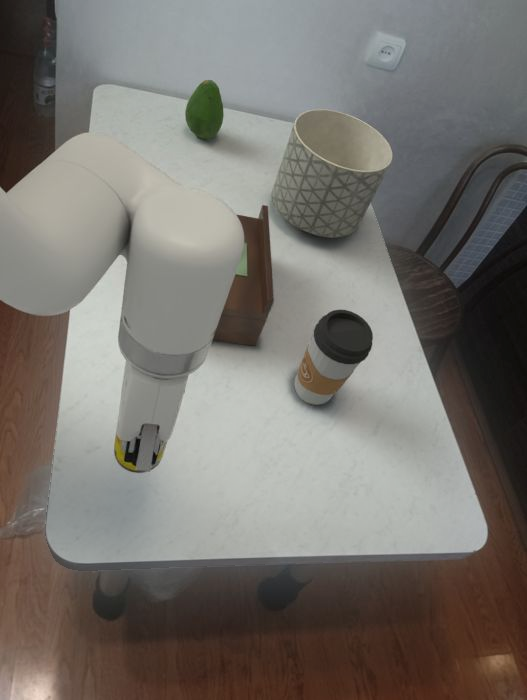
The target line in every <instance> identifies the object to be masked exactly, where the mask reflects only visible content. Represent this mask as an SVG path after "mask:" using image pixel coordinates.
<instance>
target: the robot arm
mask: <svg viewBox="0 0 527 700" xmlns="http://www.w3.org/2000/svg"><path fill="white" fill-rule="evenodd" d="M237 215H238V214H237ZM237 215H236V212H235V211H234V210H233V208H232V207H231V206H229V205H228V204H227V203H226V202H224V201H223V200H222V199H220V198H219V197H217V196H215V195H213V194H212V193H209V192H207V191H204V190H201V189H199V188H198V189H197V188H192V187H187V186H184V185H183V184H182V183H180V182H178V180H176V179H174V178H173V177H171V176H170V175H168V174H167V173H165V172H164V171H162V170H161V169H160V168H159V167H157V166H156V165H155V164H153V163H152V162H150V161H149V160H148V159H147V158H146V157H144V156H143V155H141V154H140V153H139V152H137V151H136V150H134V149H133V148H132V147H130V146H129V145H127V144H125V143H124V142H123V141H120V140H119V139H117V138H115V137H112V136H111V135H108V134H105V133H100V132H95V131H91V132H82V133H80V134H77V135H75V136H72V137H71V138H70V139H67V141H65V142H64V143H63V144H61V145H60V146H59V147H58V148H56V150H55V151H53V152H52V153H51V154H50V155H48V157H46V158H45V159H44V160H43V161H42V162H41V163H39V164H38V165H37V166H36V167H35V168H33V169H32V170H31V171H30V172H29V173H27V174H26V175H25V176H24V177H23V178H22V179H20V180H19V181H18V182H17V183H16V184H15V185H13V187H11V189H9V190H8V191H7V192H6V191H5V190H4V189H3V188H2V187H1V186H0V301H1V302H3V303H5V304H6V305H8V306H10V307H12V308H14V309H16V310H18V311H20V312H23V313H26V314H28V315H29V314H30V315H33V316H39V317H40V316H41V317H53V316H58V315H61V314H64V313H67V312H68V311H70V310H72V309H74V308H76V307H77V306H78V305H79V304H80V303H82V302H83V301H84V299H85V298H86V297H88V295H89V294H90V293H91V292H92V290H93V289H94V288H95V287H96V285H98V283H99V282H100V281H101V279H102V278H104V276H105V274H106V273H107V271H108V270H110V267H112V265H113V264H114V262H115V261H116V260H117V258H119V256H122V257H124V259H125V261H126V269H125V277H124V279H125V280H124V286H123V294H122V303H121V313H120V320H119V328H118V334H117V343H118V348H119V351H120V354H121V356H123V358H124V360H125V365H124V370H123V371H124V372H123V378H122V386H121V394H120V401H119V407H118V415H117V423H116V424H117V425H116V430H117V436H118V438H119V439H120V440H124V441H127V445H126V450H125V456H124V461H125V462H129V463H132V465H134V466H136V471H146V472H145V473H150V472H151V471H150V469H151V465H153V464H155V463H156V460H157V456H158V453H159V450H160V441H161V442H162V444H164V443H165V442H167V443H168V441H169V440H170V439H171V437H172V434H173V432H174V428H175V426H176V423H177V419H178V416H179V413H180V409H181V405H182V401H183V398H184V395H185V393H186V387H187V384H188V380H189V376H190V375H191V374H193V373H195V372H196V371H197V370H199V368H201V366H203V364H204V363H205V361H206V360H207V357H208V354H209V351H210V349H211V346H212V343H213V337H214V334H215V331H216V328H217V325H218V322H219V319H220V316H221V314H222V311H223V308H224V305H225V303H226V300H227V297H228V294H229V291H230V288H231V285H232V283H233V280H234V277H235V274H236V271H237V268H238V265H239V262H240V259H241V256H242V252H243V249H244V231H243V228H242V224H241V222H240V220H239V218H238V217H237ZM138 435H141V439H138V438H137V436H138Z"/></svg>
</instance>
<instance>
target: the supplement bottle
mask: <svg viewBox="0 0 527 700" xmlns="http://www.w3.org/2000/svg"><path fill="white" fill-rule="evenodd" d="M137 438H138V439H141V435H138V436H137ZM167 444H168V441H167V442H165V443H164V444H162V442H161V441H160V450H159V453H158V456H157V460H156V463H155V464H153V465H151V469H150V472H151V471H152V470H154V469H156V467H158V465H159V464H161V461H162V459H163V457H164V454H165V451H166V448H167ZM126 445H127V441H124V440H120V439H119V438H118V436H117V429H116V432H115V439H114V445H113V446H114V447H113V455H114V458H115V460H116V463H117V464H118V465H119V466H120V468H122V469H123V470H125V471H127V472H129V473H133V474H145V473H147V472H146V471H136V466H134V465H132V463H129V462H125V461H124V456H125V450H126Z"/></svg>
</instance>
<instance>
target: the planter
mask: <svg viewBox="0 0 527 700" xmlns="http://www.w3.org/2000/svg"><path fill="white" fill-rule="evenodd" d="M393 154H394V153H393V150H392V147H391V145H390V143H389V142H388V140H387V139H386V138H385V136H384V135H383V134H382V133H380V132H379V131H378V130H377V129H376V128H375V127H373V126H372V125H370V124H368V123H367V122H365V121H364V120H361V119H359V118H357V117H356V116H353V115H351V114H347V113H345V112H341V111H337V110H333V109H325V108H323V109H322V108H320V109H319V108H317V109H316V108H315V109H309V110H306V111H304V112H301V113H300V114H299V115H298V116H297V117H296V118H295V120H294V123H293V126H292V128H291V132H290V134H289V138H288V141H287V144H286V147H285V150H284V152H283V156H282V158H281V159H282V160H281V162H280V165H279V167H278V172H277V174H276V177H275V180H274V184H273V187H272V190H271V200H272V203H273V205H274V207H275V209H276V211H277V212H278V213H279V215H281V217H282V218H283V219H284V220H286V221H287V222H288V223H290V224H291V225H292V226H294V227H295V228H297V229H298V230H301V231H303V232H305V233H308V234H310V235H314V236H317V237H322V238H330V239H331V238H334V239H335V238H343V237H346V236H349V235H351V234H353V233H354V232H355V231H356V230H357V229H358V228H359V227H360V224H361V223H362V221H363V219H364V217H365V214H366V213H367V211H368V209H369V207H370V205H371V203H372V201H373V198H375V195H376V193H377V191H378V189H379V187H380V185H381V184H382V181H383V180H384V177H385V175H386V173H387V172H388V170H389V168H390V166H391V164H392V162H393V157H394V156H393Z"/></svg>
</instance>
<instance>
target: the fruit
mask: <svg viewBox="0 0 527 700" xmlns="http://www.w3.org/2000/svg"><path fill="white" fill-rule="evenodd" d="M184 114H185V115H184V116H185V122H186V125H187V127H188V129H189V130H190V132H191V133H192V134H194V135H195V136H196V137H197V138H200V139H203V140H209V139H212V138H213V137H214V136H216V135H217V134H218V133H219V131H220V130H221V127H222V126H223V121H224V116H225V115H224V104H223V99H222V95H221V91H220V88H219V86H218V84H217V83H216V82H215V81H214V80H212V79H204V80H203V81H202V82H201V83H199V84H198V85H197V87H196V88H195V90H194V91H193V92H192V94H191V95H190V96H189V99H188V101H187V104H186V107H185V112H184Z"/></svg>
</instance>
